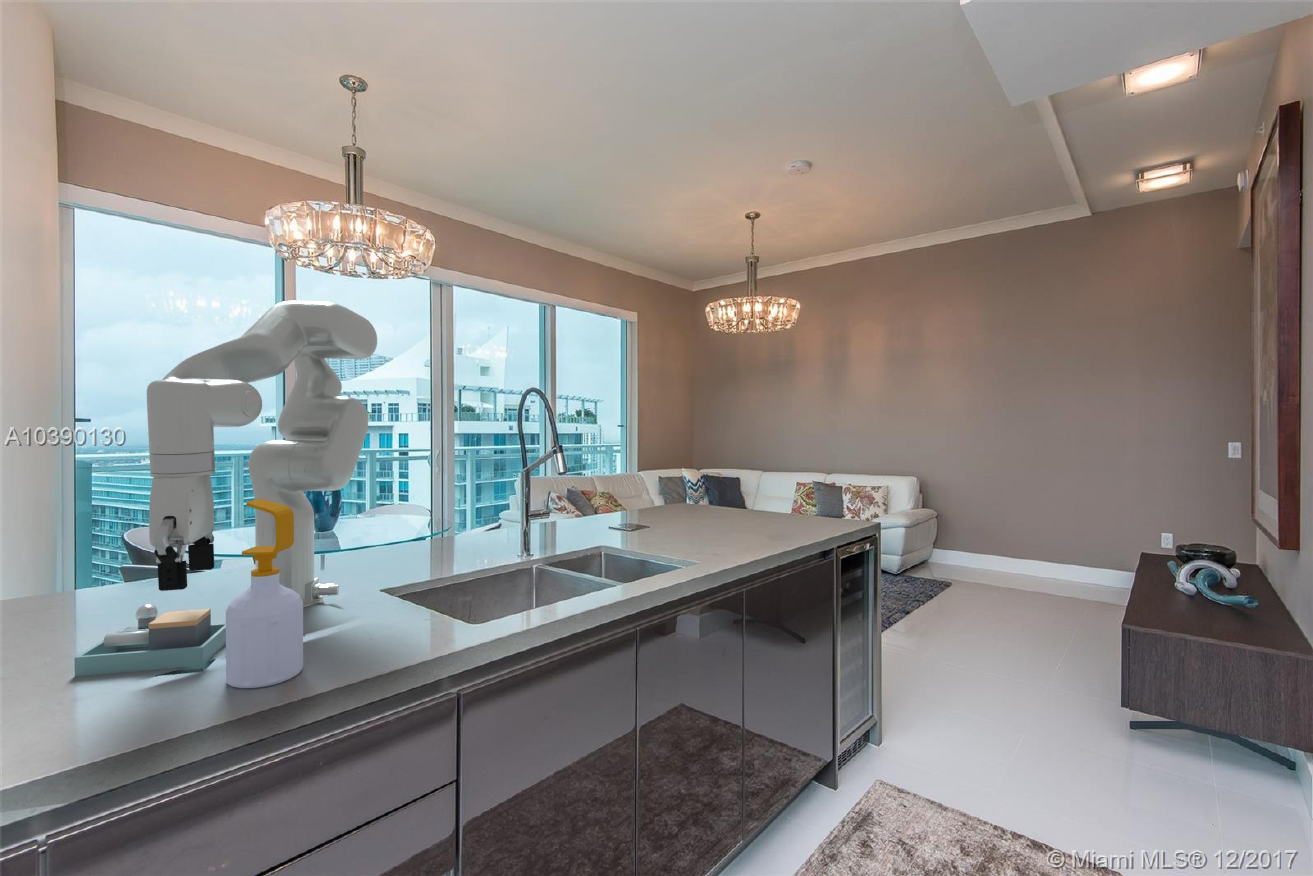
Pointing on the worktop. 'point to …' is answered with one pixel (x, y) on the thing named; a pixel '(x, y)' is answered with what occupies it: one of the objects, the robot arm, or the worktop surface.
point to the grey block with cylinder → (168, 631)
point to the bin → (150, 656)
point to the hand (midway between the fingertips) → (188, 579)
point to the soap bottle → (265, 616)
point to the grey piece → (144, 617)
